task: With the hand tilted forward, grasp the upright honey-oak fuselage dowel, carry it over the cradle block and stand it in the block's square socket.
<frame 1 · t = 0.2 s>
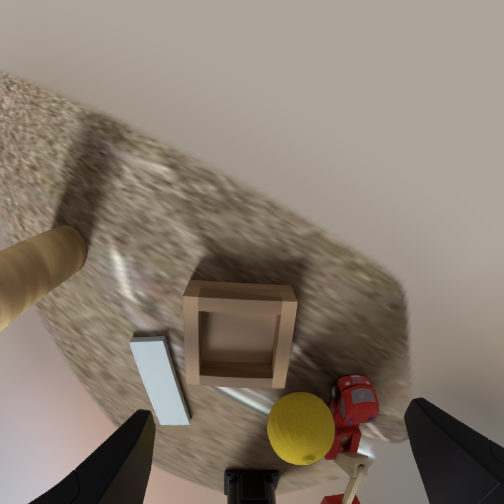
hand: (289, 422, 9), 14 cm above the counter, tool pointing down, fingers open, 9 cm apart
toy fire truck: (334, 419, 27), on the counter
cradle block: (237, 327, 24), on the counter
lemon: (293, 395, 26), on the counter
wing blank: (162, 382, 25), on the counter
fuselage dowel: (66, 249, 21), on the counter
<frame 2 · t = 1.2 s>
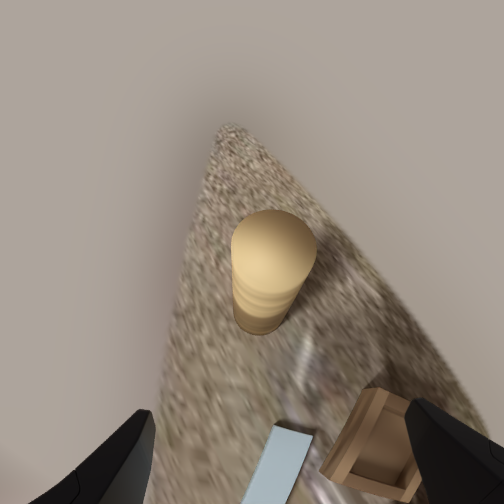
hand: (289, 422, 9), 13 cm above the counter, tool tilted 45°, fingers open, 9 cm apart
cradle block: (379, 445, 19), on the counter
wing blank: (269, 486, 18), on the counter
fuselage dowel: (258, 310, 24), on the counter
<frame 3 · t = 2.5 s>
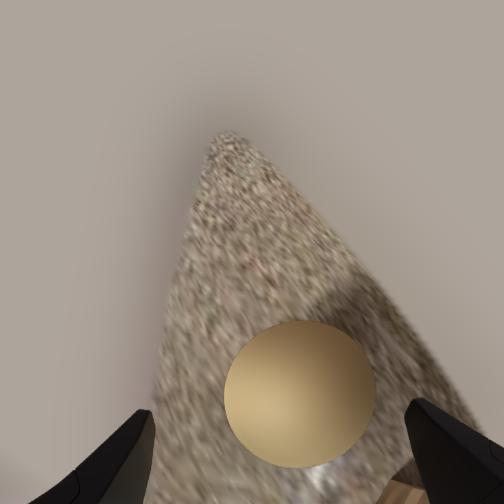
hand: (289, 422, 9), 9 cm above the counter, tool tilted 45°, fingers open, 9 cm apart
fuselage dowel: (265, 397, 17), on the counter
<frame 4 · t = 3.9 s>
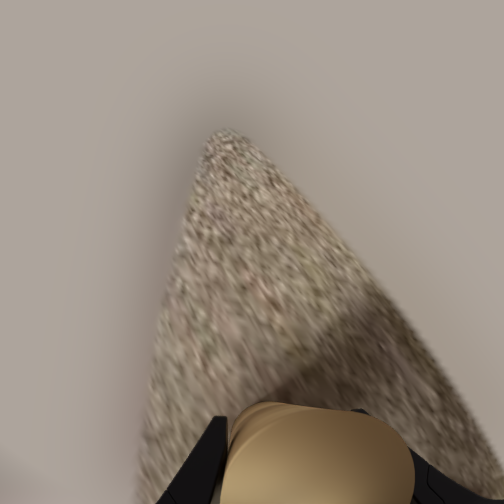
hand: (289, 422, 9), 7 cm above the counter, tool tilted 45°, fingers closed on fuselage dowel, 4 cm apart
fuselage dowel: (269, 436, 14), on the counter, touching gripper
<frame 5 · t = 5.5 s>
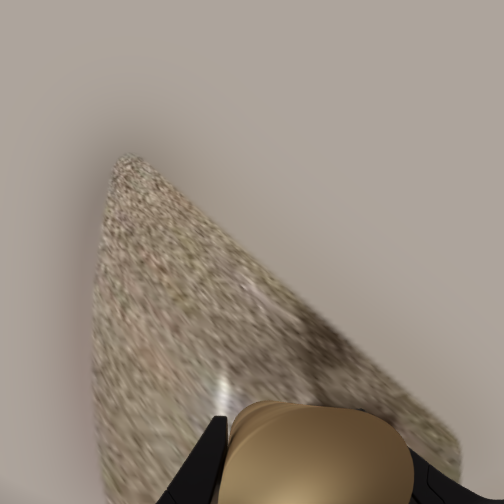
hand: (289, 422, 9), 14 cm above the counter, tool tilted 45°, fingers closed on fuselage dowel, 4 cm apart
fuselage dowel: (268, 435, 14), point 7 cm above the counter, touching gripper
when the fingers open (9 cm above the counter, at t = 7.3 s): fuselage dowel drops 1 cm, resting on cradle block.
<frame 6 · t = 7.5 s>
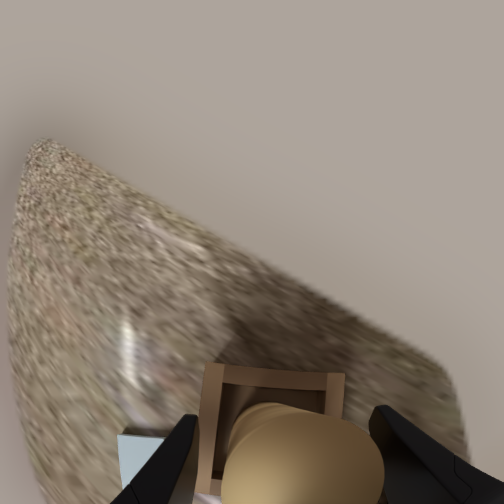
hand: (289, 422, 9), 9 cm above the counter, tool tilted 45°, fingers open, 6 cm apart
cradle block: (264, 431, 16), on the counter
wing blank: (150, 503, 13), on the counter
fuselage dowel: (266, 433, 15), point 1 cm above the counter, touching cradle block
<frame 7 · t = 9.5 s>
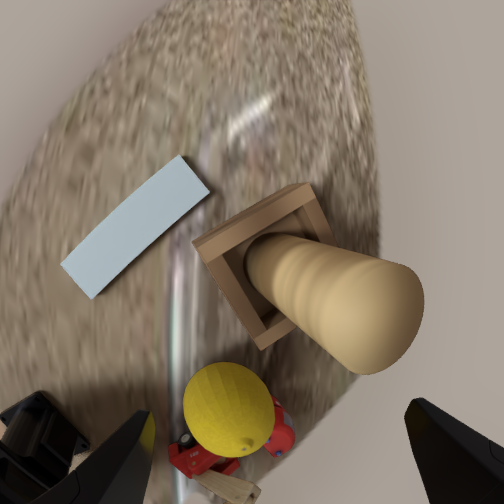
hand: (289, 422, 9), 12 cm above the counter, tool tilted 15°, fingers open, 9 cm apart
toy fire truck: (207, 435, 22), on the counter
cradle block: (268, 260, 21), on the counter
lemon: (215, 375, 21), on the counter
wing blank: (132, 227, 18), on the counter
fuselage dowel: (273, 263, 20), point 1 cm above the counter, touching cradle block
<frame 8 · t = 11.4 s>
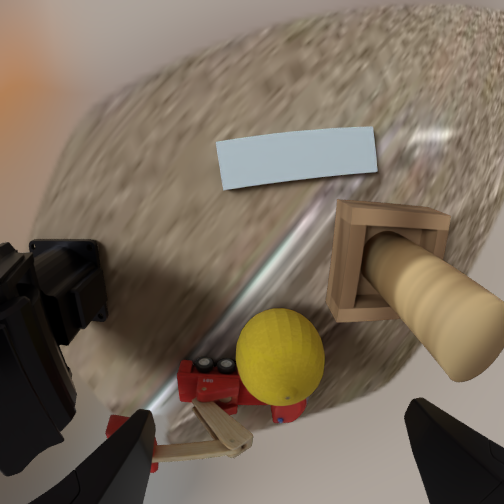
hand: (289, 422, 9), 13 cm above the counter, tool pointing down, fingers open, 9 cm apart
toy fire truck: (220, 370, 24), on the counter
cradle block: (379, 254, 21), on the counter
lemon: (273, 321, 23), on the counter
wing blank: (298, 154, 19), on the counter
fuselage dowel: (385, 258, 20), point 1 cm above the counter, touching cradle block
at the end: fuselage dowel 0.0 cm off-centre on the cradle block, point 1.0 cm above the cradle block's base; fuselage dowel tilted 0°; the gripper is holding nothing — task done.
